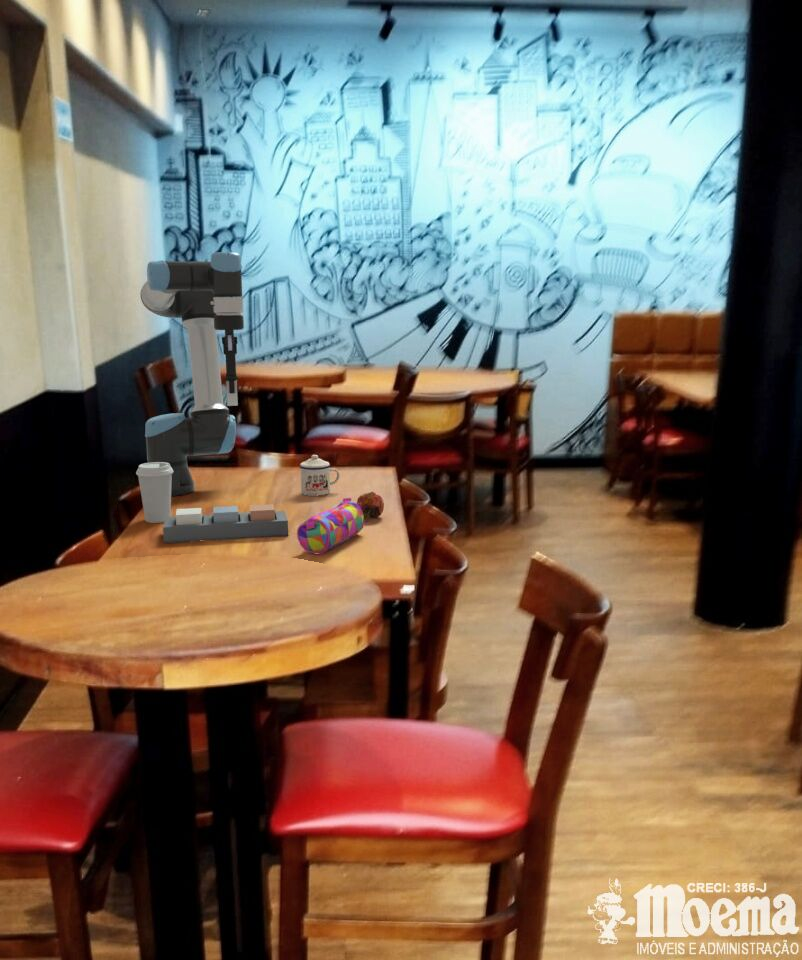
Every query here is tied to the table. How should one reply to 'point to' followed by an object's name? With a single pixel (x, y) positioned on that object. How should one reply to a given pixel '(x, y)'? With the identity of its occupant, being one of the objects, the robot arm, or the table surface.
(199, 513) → the ivory key
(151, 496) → the coffee cup
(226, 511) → the slate key
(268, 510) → the terracotta key
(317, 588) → the table surface
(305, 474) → the teacup with lid
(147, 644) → the table surface
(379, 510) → the pomegranate
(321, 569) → the table surface
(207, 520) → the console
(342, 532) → the pencil case
